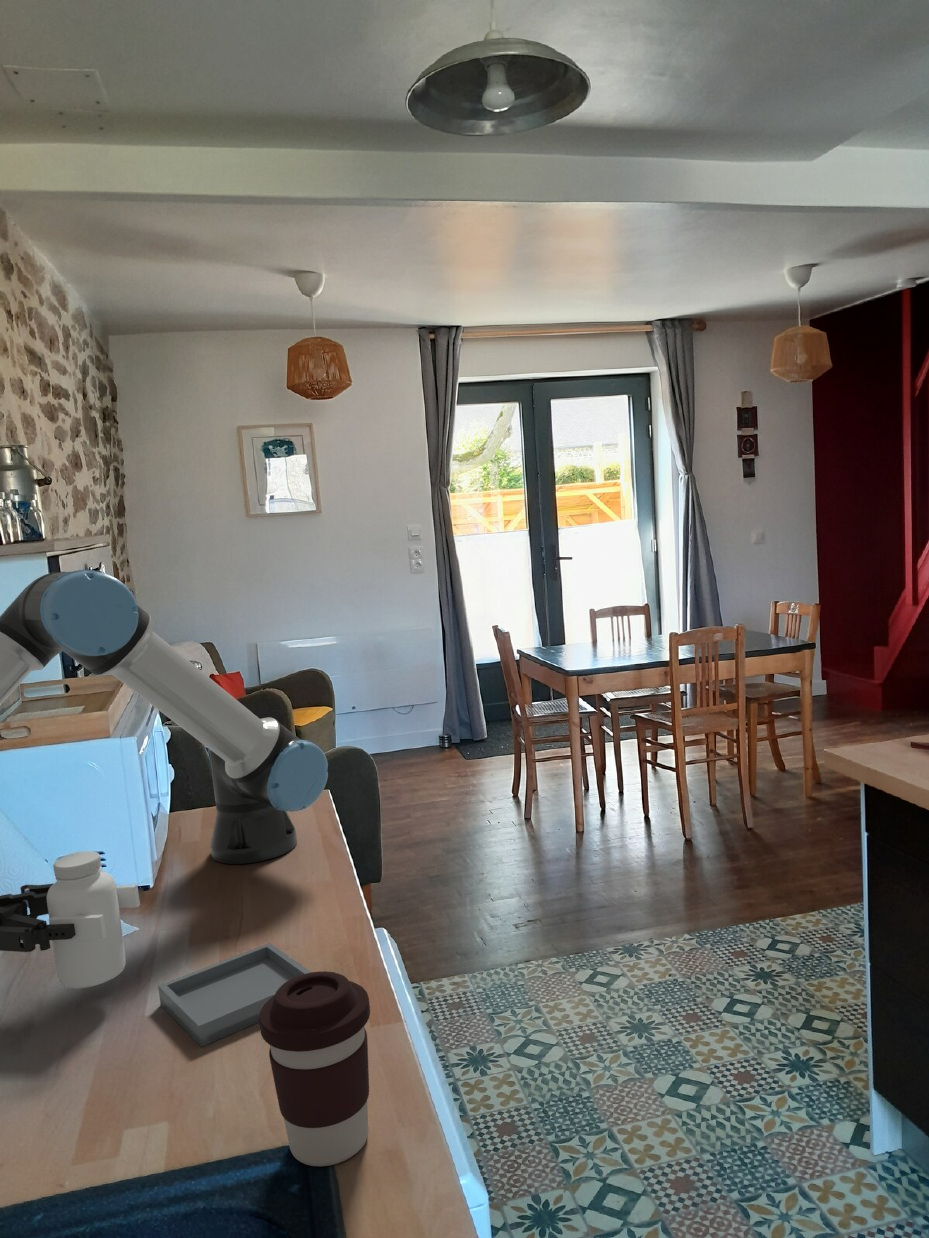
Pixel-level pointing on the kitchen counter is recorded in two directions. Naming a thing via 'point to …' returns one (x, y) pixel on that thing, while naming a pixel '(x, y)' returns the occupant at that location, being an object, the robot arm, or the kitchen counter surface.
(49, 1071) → the kitchen counter surface
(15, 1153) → the kitchen counter surface
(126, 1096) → the kitchen counter surface
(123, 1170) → the kitchen counter surface
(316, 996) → the coffee cup
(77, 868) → the pill bottle
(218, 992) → the tray
